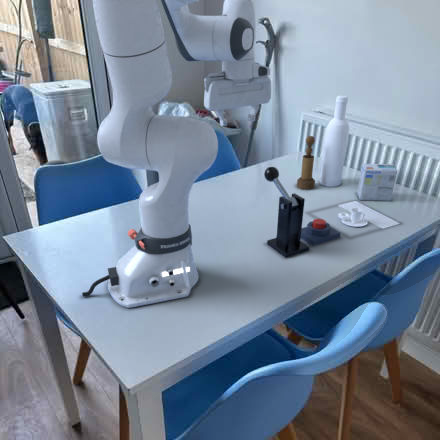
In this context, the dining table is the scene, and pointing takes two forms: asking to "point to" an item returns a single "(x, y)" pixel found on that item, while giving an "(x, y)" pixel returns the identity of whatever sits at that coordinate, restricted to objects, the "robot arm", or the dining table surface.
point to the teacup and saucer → (355, 215)
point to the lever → (279, 185)
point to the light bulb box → (377, 181)
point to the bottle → (335, 145)
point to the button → (319, 223)
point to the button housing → (318, 234)
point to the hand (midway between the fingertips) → (237, 123)
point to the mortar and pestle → (307, 167)
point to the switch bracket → (289, 228)
